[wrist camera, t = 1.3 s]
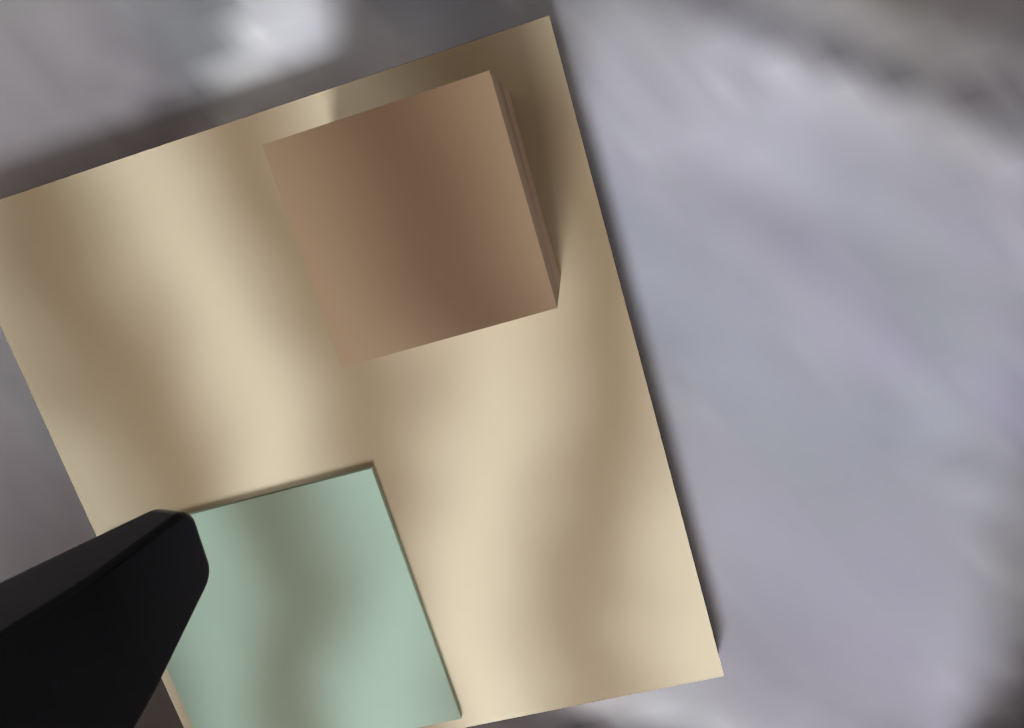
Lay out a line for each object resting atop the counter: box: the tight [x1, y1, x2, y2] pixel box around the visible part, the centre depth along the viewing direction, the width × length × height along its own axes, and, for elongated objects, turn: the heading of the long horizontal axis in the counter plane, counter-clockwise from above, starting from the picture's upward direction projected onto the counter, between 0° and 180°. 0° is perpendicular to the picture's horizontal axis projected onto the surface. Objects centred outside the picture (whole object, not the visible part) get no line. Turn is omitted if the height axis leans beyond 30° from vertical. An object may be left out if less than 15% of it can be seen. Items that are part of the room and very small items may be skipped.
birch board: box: [0, 16, 724, 728], centre depth 23 cm, size 18×20×1 cm
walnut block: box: [262, 70, 561, 368], centre depth 19 cm, size 5×5×5 cm
